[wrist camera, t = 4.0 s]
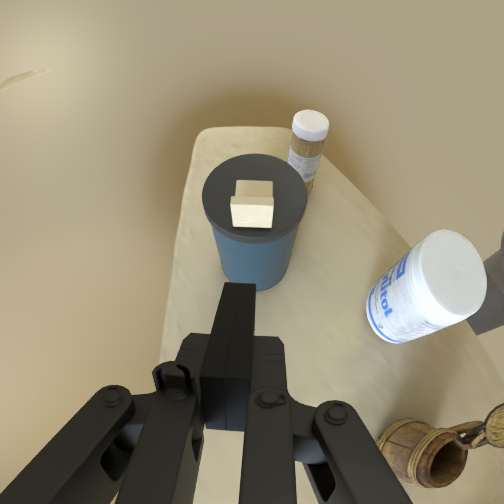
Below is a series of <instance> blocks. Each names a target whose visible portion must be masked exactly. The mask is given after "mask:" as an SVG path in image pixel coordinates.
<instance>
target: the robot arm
mask: <svg viewBox="0 0 504 504" xmlns="http://www.w3.org/2000/svg"><path fill="white" fill-rule="evenodd" d="M255 301H256V283H231V282H225V284H224V287H223V291H222V294H221V298H220V301H219V305H218V309H217V312H216V316H215V319H214V323H213V327H212V330H211V334H199V333H190V334H189V335H188V336H187V337H186V338H185V339H183V341H182V344H181V347H180V350H179V352H178V354H177V357H176V359H175V361H168V362H164V363H161V364H160V365H158V366H156V367H155V369H154V370H153V371H152V375H153V379H154V383H155V387H156V391H155V392H153V393H149V394H140V395H131V393H130V391H129V390H128V389H126V388H125V387H123V386H119V385H109V386H106V387H103V388H102V389H100V390H99V391H97V392H96V393H95V394H94V395H93V397H92V398H91V399H90V400H89V401H88V402H87V403H86V404H85V405H84V406H83V407H82V408H81V409H80V410H79V411H78V412H77V413H76V414H75V415H74V416H73V417H72V418H71V419H70V420H69V421H68V423H67V424H66V425H65V426H64V427H63V428H62V429H61V430H60V431H59V432H58V433H57V434H56V435H55V436H54V437H53V438H52V440H50V442H48V444H47V445H46V446H45V447H44V448H43V449H42V450H41V451H40V452H39V453H38V454H37V455H36V456H35V457H34V458H33V459H32V461H31V462H30V463H29V464H28V465H27V466H26V467H25V468H24V469H23V470H22V471H21V472H20V473H19V475H17V477H16V478H15V479H14V480H13V481H12V482H11V483H10V484H9V485H8V486H7V487H6V489H4V491H3V492H2V493H1V494H0V504H110V503H111V501H112V500H113V498H114V497H115V496H116V494H117V493H118V495H117V499H116V501H115V504H193V498H194V493H195V487H196V482H197V476H198V471H199V465H200V460H201V454H202V449H203V444H204V435H203V429H204V424H205V425H206V429H216V430H228V431H244V444H243V456H242V468H241V480H240V492H239V504H297V496H296V476H295V461H299V462H302V463H303V466H304V468H305V471H306V473H307V476H308V478H309V481H310V483H311V486H312V488H313V491H314V493H315V495H316V498H317V500H318V503H319V504H413V503H412V501H411V500H410V498H409V496H408V495H407V493H406V491H405V490H404V488H403V487H402V485H401V483H400V482H399V480H398V478H397V477H396V475H395V474H394V472H393V470H392V469H391V467H390V465H389V464H388V462H387V461H386V459H385V457H384V456H383V454H382V452H381V451H380V449H379V448H378V446H377V444H376V443H375V441H374V439H373V438H372V436H371V435H370V433H369V431H368V430H367V428H366V426H365V425H364V423H363V422H362V420H361V418H360V417H359V415H358V414H357V412H356V410H355V409H354V408H353V407H352V406H351V405H349V404H347V403H345V402H343V401H337V400H333V401H327V402H324V403H322V404H320V405H319V406H318V407H317V408H316V407H312V406H307V405H304V404H301V403H299V402H297V401H295V400H294V399H293V398H292V397H291V396H290V394H289V393H288V389H287V378H286V365H285V353H284V344H283V343H282V341H281V340H280V339H279V337H271V336H254V330H255ZM118 491H119V492H118Z"/></svg>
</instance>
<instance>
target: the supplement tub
mask: <svg viewBox="0 0 504 504" xmlns="http://www.w3.org/2000/svg"><path fill="white" fill-rule="evenodd" d="M486 288H487V280H486V272H485V268H484V265H483V262H482V260H481V258H480V256H479V254H478V252H477V251H476V249H475V248H474V246H473V245H472V244H471V243H470V242H469V241H468V240H467V239H466V238H465V237H463V236H462V235H460V234H459V233H456V232H454V231H451V230H445V229H444V230H437V231H434V232H432V233H431V234H429V235H428V236H427V237H426V238H424V239H423V240H421V241H420V242H419V243H417V244H416V245H415V246H414V247H413V248H412V249H411V250H410V251H409V252H408V253H407V254H406V255H405V256H404V257H403V258H402V259H401V260H400V261H399V262H397V263H396V264H395V265H394V266H393V267H392V268H391V269H390V270H389V271H388V272H387V273H386V274H384V275H383V276H382V277H381V278H380V279H379V280H378V281H377V282H376V283H375V284H374V285H373V286H372V288H371V289H370V291H369V294H368V296H367V301H366V313H367V317H368V320H369V323H370V325H371V327H372V328H373V330H374V331H375V333H376V334H377V335H378V336H380V337H381V338H382V339H384V340H386V341H388V342H391V343H405V342H408V341H411V340H414V339H417V338H419V337H422V336H425V335H427V334H430V333H433V332H435V331H438V330H440V329H443V328H446V327H448V326H451V325H453V324H455V323H458V322H460V321H462V320H464V319H466V318H468V317H469V316H470V315H472V314H474V313H475V312H476V311H477V310H478V309H479V308H480V306H481V305H482V303H483V301H484V298H485V295H486Z"/></svg>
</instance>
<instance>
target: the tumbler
mask: <svg viewBox="0 0 504 504" xmlns="http://www.w3.org/2000/svg"><path fill="white" fill-rule="evenodd" d="M237 180H254V181H273V198H274V209H273V220H272V228H261V227H234V226H233V221H232V213H231V206H230V203H231V196H235V192H236V182H237ZM202 202H203V206H204V210H205V214H206V216H207V218H208V220H209V222H210V223H211V225H212V228H213V232H214V236H215V240H216V244H217V248H218V252H219V256H220V259H221V263H222V267H223V270H224V273H225V275H226V276H227V278H228V279H229V280H230V281H231V282H232V283H256V291H261V290H265V289H268V288H271V287H273V286H274V285H276V284H277V283H278V282H279V281H280V280H281V279H282V278H283V276H284V275H285V273H286V271H287V268H288V264H289V260H290V256H291V252H292V248H293V244H294V240H295V235H296V231H297V227H298V224H299V222H300V221H301V219H302V217H303V214H304V212H305V208H306V203H307V189H306V186H305V183H304V181H303V179H302V177H301V176H300V174H299V173H298V172H297V171H296V169H294V168H293V167H292V166H291V165H290V164H288V163H287V162H285V161H283V160H281V159H279V158H276V157H273V156H270V155H264V154H245V155H240V156H236V157H233V158H231V159H228V160H226V161H225V162H223V163H221V164H220V165H219V166H217V167H216V168H215V169H214V170H213V171H212V172H211V173H210V175H209V176H208V178H207V179H206V182H205V184H204V187H203V191H202Z"/></svg>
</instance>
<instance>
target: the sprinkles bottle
mask: <svg viewBox="0 0 504 504" xmlns="http://www.w3.org/2000/svg"><path fill="white" fill-rule="evenodd" d="M328 129H329V121H328V119H327V118H326V117H325V116H324V115H323V114H321V113H319V112H317V111H313V110H302V111H299V112H298V113H296V115H295V116H294V119H293V125H292V130H293V134H292V141H291V144H290V151H289V157H288V164H290V165H291V166H292V167H293V168H294V169H296V171H297V172H298V173H299V174H300V176H301V177H302V179H303V181H304V183H305V186H306V189H307V193H308V192H310V191H311V189H312V187H313V180H314V177H315V175H316V172H317V168H318V165H319V161H320V157H321V153H322V147H323V143H324V139H325V137H326V136H327V133H328Z"/></svg>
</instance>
